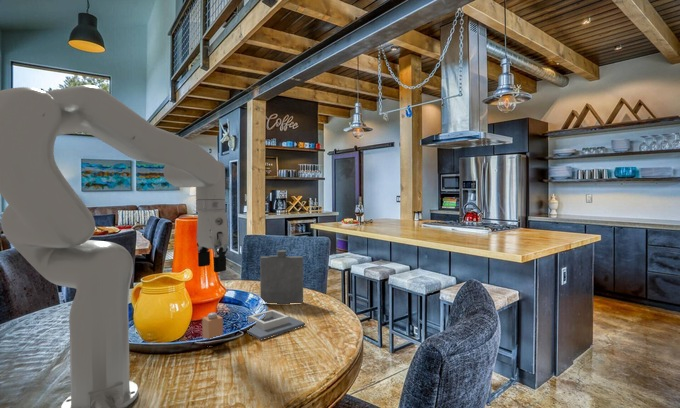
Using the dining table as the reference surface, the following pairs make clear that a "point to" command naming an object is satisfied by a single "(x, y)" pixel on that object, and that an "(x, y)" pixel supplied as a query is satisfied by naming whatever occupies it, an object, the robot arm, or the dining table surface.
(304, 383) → the dining table surface
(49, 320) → the dining table surface
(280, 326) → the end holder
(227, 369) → the dining table surface
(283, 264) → the hip flask
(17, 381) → the dining table surface
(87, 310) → the robot arm
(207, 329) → the connector plug
